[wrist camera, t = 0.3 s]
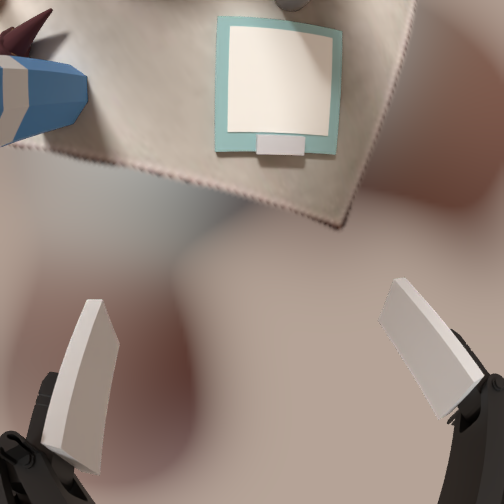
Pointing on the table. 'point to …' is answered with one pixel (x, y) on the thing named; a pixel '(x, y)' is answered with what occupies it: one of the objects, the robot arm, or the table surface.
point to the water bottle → (38, 97)
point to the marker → (291, 4)
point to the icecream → (22, 36)
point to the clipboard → (276, 86)
